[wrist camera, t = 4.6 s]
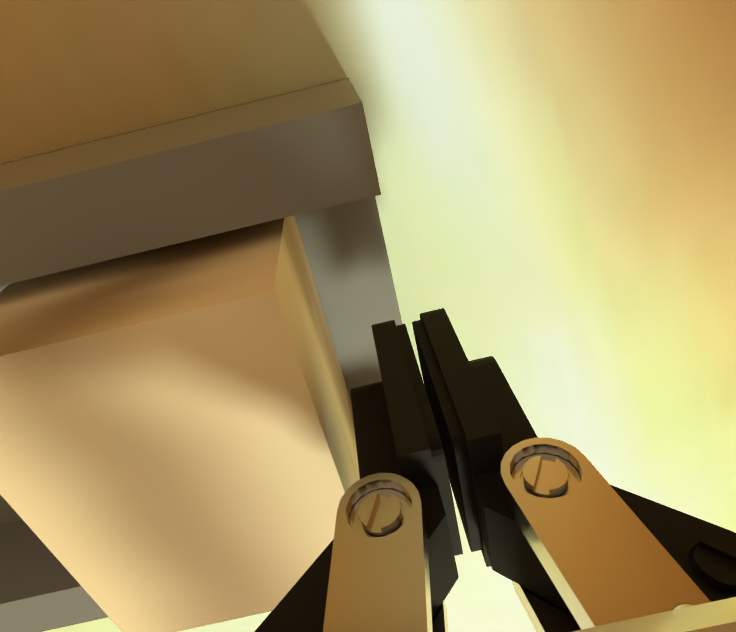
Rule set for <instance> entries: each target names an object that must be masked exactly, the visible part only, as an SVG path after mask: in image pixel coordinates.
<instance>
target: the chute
mask: <svg viewBox="0 0 736 632" xmlns="http://www.w3.org/2000/svg"><path fill="white" fill-rule="evenodd" d="M376 195H381V192H380V187H379V182H378V178H377V173H376V168H375V163H374V158H373V153H372V149H371V144H370V139H369V134H368V129H367V124H366V119H365V115H364V110H363V105H362V101H361V100H360V98H359V96H358V95H357V93H356V91H355V89H354V88H353V86H352V84H351V82H350V81H349V79H348V78H347V79H343V80H339V81H335V82H331V83H327V84H323V85H319V86H315V87H311V88H307V89H303V90H299V91H295V92H291V93H287V94H283V95H279V96H275V97H271V98H267V99H262V100H258V101H254V102H250V103H246V104H242V105H238V106H234V107H230V108H226V109H222V110H218V111H214V112H210V113H206V114H202V115H198V116H194V117H190V118H186V119H182V120H178V121H174V122H170V123H166V124H162V125H158V126H154V127H150V128H146V129H142V130H138V131H134V132H130V133H126V134H122V135H117V136H113V137H109V138H105V139H101V140H97V141H93V142H89V143H85V144H81V145H77V146H73V147H69V148H65V149H61V150H57V151H53V152H49V153H45V154H41V155H37V156H33V157H29V158H25V159H21V160H17V161H13V162H9V163H5V164H1V165H0V292H1V291H2V290H3V289H5V288H6V287H7V286H8V285H9V284H11V283H15V282H19V281H24V280H28V279H32V278H36V277H40V276H44V275H48V274H53V273H57V272H61V271H65V270H69V269H73V268H77V267H82V266H86V265H90V264H94V263H98V262H102V261H107V260H111V259H115V258H119V257H123V256H127V255H131V254H136V253H140V252H144V251H148V250H152V249H156V248H160V247H165V246H169V245H173V244H177V243H181V242H185V241H190V240H194V239H198V238H202V237H206V236H210V235H214V234H219V233H223V232H227V231H231V230H235V229H239V228H244V227H248V226H252V225H256V224H260V223H264V222H268V221H273V220H277V219H281V218H285V217H289V216H293V215H294V216H295V219H296V222H297V225H298V229H299V232H300V235H301V239H302V242H303V245H304V248H305V252H306V255H307V258H308V262H309V265H310V268H311V271H312V275H313V278H314V281H315V285H316V288H317V291H318V294H319V298H320V301H321V304H322V308H323V311H324V314H325V318H326V321H327V324H328V327H329V331H330V334H331V337H332V341H333V344H334V347H335V350H336V354H337V357H338V360H339V364H340V367H341V370H342V373H343V377H344V380H345V383H346V387H347V390H348V393H349V396H350V400H351V388H355V387H359V386H364V385H368V384H372V383H377V382H381V381H382V378H381V373H380V368H379V362H378V357H377V352H376V347H375V342H374V337H373V332H372V327H371V325H374V324H378V323H382V322H387V321H391V320H395V324H396V326H397V325H402V321H401V316H400V312H399V307H398V302H397V298H396V293H395V288H394V284H393V279H392V274H391V269H390V265H389V260H388V255H387V251H386V246H385V241H384V237H383V232H382V227H381V223H380V218H379V213H378V208H377V204H376V199H375V196H376ZM351 403H352V402H351ZM106 617H108V616H107V614H106V613H105V612H104V611H103V610H102V609H101V608H100V606H99V605H98V604H97V603H96V602H95V601H94V600H93V599H92V597H91V596H90V595H89V594H88V593H87V592H86V591H85V590H84V588H83V587H82V586H81V585H80V584H79V583H78V582H77V580H76V579H75V578H74V577H73V576H72V575H71V574H70V573H69V571H68V570H67V569H66V568H65V567H64V566H63V565H62V564H61V562H60V561H59V560H58V559H57V558H56V557H55V556H54V554H53V553H52V552H51V551H50V550H49V549H48V548H47V547H46V545H45V544H44V543H43V542H42V541H41V540H40V539H39V538H38V536H37V535H36V534H35V533H34V532H33V531H32V530H31V528H30V527H29V526H28V525H27V524H26V523H25V522H24V521H23V519H22V518H21V517H20V516H19V515H18V514H17V513H16V512H15V510H14V509H13V508H12V507H11V506H10V505H9V504H8V503H7V501H6V500H5V499H4V498H3V497H2V496H1V495H0V632H42V631H47V630H51V629H56V628H61V627H65V626H70V625H74V624H79V623H83V622H88V621H92V620H97V619H102V618H106Z"/></svg>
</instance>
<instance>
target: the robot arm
mask: <svg viewBox="0 0 736 632" xmlns="http://www.w3.org/2000/svg"><path fill="white" fill-rule="evenodd" d="M412 324H413V330H414V335H415V340H416V345H417V350H418V355H419V361H420V366H421V371H422V376H423V380H422V377H421V374H420V370H419V367H418V364H417V361H416V357H415V354H414V351H413V348H412V345H411V341H410V338H409V335H408V332H407V328H406V325H405V324H402V325H397V326H396V324H395V320H391V321H387V322H382V323H378V324H374V325H371V327H372V332H373V337H374V342H375V347H376V352H377V357H378V362H379V368H380V373H381V378H382V381H381V382H377V383H372V384H368V385H364V386H359V387H355V388H351V402H352V411H353V420H354V430H355V439H356V448H357V457H358V467H359V476H360V480H358V481H356V482H355V483H354V484H353V485H352V486H350V487H349V488H348V489H347V490H346V492H345V493H344V495H343V496H342V498H341V499H340V502H339V506H338V509H337V515H336V523H335V532H334V539H333V540H332V541H331V542H330V544H329V545H328V546H327V547H326V548H325V549H324V551H323V552H322V553H321V554H320V555H319V556H318V558H317V559H316V560H315V561H314V562H313V564H312V565H311V566H310V567H309V568H308V569H307V571H306V572H305V573H304V574H303V575H302V577H301V578H300V579H299V580H298V581H297V582H296V584H295V585H294V586H293V587H292V588H291V589H290V591H289V592H288V593H287V594H286V595H285V597H284V598H283V599H282V600H281V601H280V602H279V604H278V605H277V606H276V607H275V608H274V609H273V611H272V612H271V613H270V614H269V615H268V617H267V618H266V619H265V620H264V621H263V622H262V624H261V625H260V626H259V627H258V628H257V629H256V631H255V632H448V623H447V611H446V605H445V601H444V600H445V598H446V596H447V595H448V593H449V592H450V590H451V588H452V587H453V585H454V584H455V582H456V580H457V579H458V572H457V567H456V562H455V557H454V556H455V555H460V554H463V551H462V546H461V540H460V535H459V530H458V524H457V519H456V514H455V508H454V503H453V497H452V492H451V487H452V490H453V493H454V497H455V500H456V503H457V507H458V510H459V513H460V517H461V520H462V523H463V527H464V530H465V533H466V537H467V540H468V543H469V546H470V549H471V552H473V551H478V550H482V554H483V557H484V560H485V563H486V566H487V567H489V566H492V569H493V570H494V571H496V572H498V573H499V574H501V575H503V576H505V577H507V578H508V579H510V580H512V582H513V585H514V588H515V591H516V593H517V595H518V597H519V599H520V601H521V603H522V605H523V607H524V609H525V611H526V612H527V614H528V616H529V618H530V620H531V622H532V624H533V626H534V628H535V629H536V631H537V632H736V533H734V532H732V531H730V530H727V529H724V528H722V527H719V526H717V525H714V524H711V523H709V522H706V521H703V520H701V519H698V518H696V517H693V516H690V515H688V514H685V513H683V512H680V511H677V510H675V509H672V508H669V507H667V506H664V505H662V504H659V503H656V502H654V501H651V500H648V499H646V498H643V497H641V496H638V495H635V494H633V493H630V492H628V491H625V490H622V489H620V488H617V487H614V486H612V485H609V484H608V482H607V481H606V480H605V479H604V478H603V477H602V475H601V474H600V473H599V472H598V471H597V470H596V468H595V467H594V466H593V465H592V464H591V463H590V462H589V460H588V459H587V458H586V457H585V456H584V455H583V454H582V453H581V452H580V451H579V450H577V449H576V448H575V447H574V446H572V445H569V444H567V443H565V442H563V441H560V440H556V439H552V438H538V437H537V436H536V434H535V432H534V430H533V428H532V426H531V424H530V423H529V421H528V419H527V417H526V415H525V413H524V412H523V410H522V408H521V406H520V404H519V402H518V400H517V399H516V397H515V395H514V393H513V391H512V389H511V388H510V386H509V384H508V382H507V380H506V378H505V377H504V375H503V373H502V371H501V369H500V367H499V365H498V364H497V362H496V360H495V359H494V357H492V356H489V357H485V358H481V359H476V360H472V361H468V359H467V357H466V355H465V353H464V351H463V348H462V346H461V344H460V342H459V340H458V338H457V335H456V333H455V331H454V329H453V327H452V325H451V322H450V320H449V318H448V316H447V314H446V311H445V310H444V308H442V309H438V310H434V311H429V312H425V313H421V314H420V320H419V321H414V322H412ZM423 381H424V383H423ZM449 480H450V481H449ZM450 483H451V487H450Z"/></svg>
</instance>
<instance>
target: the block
mask: <svg viewBox="0 0 736 632" xmlns="http://www.w3.org/2000/svg"><path fill="white" fill-rule="evenodd" d="M358 480H360V476H359V467H358V457H357V448H356V439H355V430H354V420H353V411H352V403H351V400H350V396H349V393H348V390H347V387H346V383H345V380H344V377H343V373H342V370H341V367H340V364H339V360H338V357H337V354H336V350H335V347H334V344H333V341H332V337H331V334H330V331H329V327H328V324H327V321H326V318H325V314H324V311H323V308H322V304H321V301H320V298H319V294H318V291H317V288H316V285H315V281H314V278H313V275H312V271H311V268H310V265H309V262H308V258H307V255H306V252H305V248H304V245H303V242H302V239H301V235H300V232H299V229H298V225H297V222H296V219H295V216H294V215H293V216H289V217H285V218H281V219H277V220H273V221H268V222H264V223H260V224H256V225H252V226H248V227H244V228H239V229H235V230H231V231H227V232H223V233H219V234H214V235H210V236H206V237H202V238H198V239H194V240H190V241H185V242H181V243H177V244H173V245H169V246H165V247H160V248H156V249H152V250H148V251H144V252H140V253H136V254H131V255H127V256H123V257H119V258H115V259H111V260H107V261H102V262H98V263H94V264H90V265H86V266H82V267H77V268H73V269H69V270H65V271H61V272H57V273H53V274H48V275H44V276H40V277H36V278H32V279H28V280H24V281H19V282H15V283H11V284H9V285H8V286H7V287H6V288H5V289H3V290H2V291H1V292H0V495H1V496H2V497H3V498H4V499H5V500H6V501H7V503H8V504H9V505H10V506H11V507H12V508H13V509H14V510H15V512H16V513H17V514H18V515H19V516H20V517H21V518H22V519H23V521H24V522H25V523H26V524H27V525H28V526H29V527H30V528H31V530H32V531H33V532H34V533H35V534H36V535H37V536H38V538H39V539H40V540H41V541H42V542H43V543H44V544H45V545H46V547H47V548H48V549H49V550H50V551H51V552H52V553H53V554H54V556H55V557H56V558H57V559H58V560H59V561H60V562H61V564H62V565H63V566H64V567H65V568H66V569H67V570H68V571H69V573H70V574H71V575H72V576H73V577H74V578H75V579H76V580H77V582H78V583H79V584H80V585H81V586H82V587H83V588H84V590H85V591H86V592H87V593H88V594H89V595H90V596H91V597H92V599H93V600H94V601H95V602H96V603H97V604H98V605H99V606H100V608H101V609H102V610H103V611H104V612H105V613H106V614H107V616H108V617H109V618H110V619H111V620H112V621H113V622H114V623H115V625H116V626H117V627H118V628H119V629H120V630H121V631H122V632H177V631H182V630H186V629H191V628H196V627H200V626H205V625H209V624H214V623H219V622H223V621H228V620H232V619H237V618H242V617H246V616H251V615H255V614H260V613H265V612H269V611H273V609H274V608H275V607H276V606H277V605H278V604H279V602H280V601H281V600H282V599H283V598H284V597H285V595H286V594H287V593H288V592H289V591H290V589H291V588H292V587H293V586H294V585H295V584H296V582H297V581H298V580H299V579H300V578H301V577H302V575H303V574H304V573H305V572H306V571H307V569H308V568H309V567H310V566H311V565H312V564H313V562H314V561H315V560H316V559H317V558H318V556H319V555H320V554H321V553H322V552H323V551H324V549H325V548H326V547H327V546H328V545H329V544H330V542H331V541H332V540H333V539H334V532H335V523H336V515H337V509H338V506H339V502H340V499H341V498H342V496H343V495H344V493H345V492H346V490H347V489H348V488H349V487H350V486H352V485H353V484H354V483H355V482H356V481H358Z"/></svg>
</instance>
